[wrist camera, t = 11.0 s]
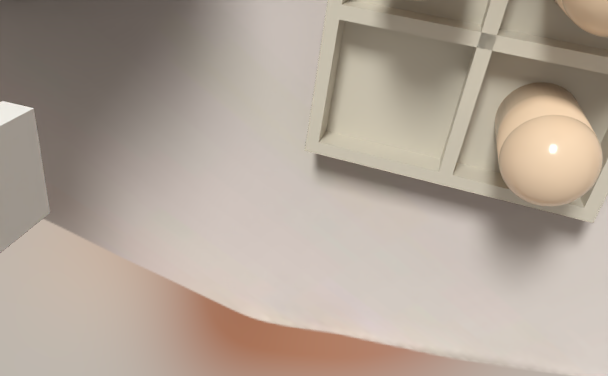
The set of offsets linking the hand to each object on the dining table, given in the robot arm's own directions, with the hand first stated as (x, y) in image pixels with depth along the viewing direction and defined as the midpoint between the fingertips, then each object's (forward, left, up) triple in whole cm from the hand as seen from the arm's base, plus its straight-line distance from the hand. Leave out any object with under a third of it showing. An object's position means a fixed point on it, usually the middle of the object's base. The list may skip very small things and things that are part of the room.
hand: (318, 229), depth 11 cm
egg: (+8, -4, -22) cm, 24 cm away
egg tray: (+4, 0, -23) cm, 23 cm away
